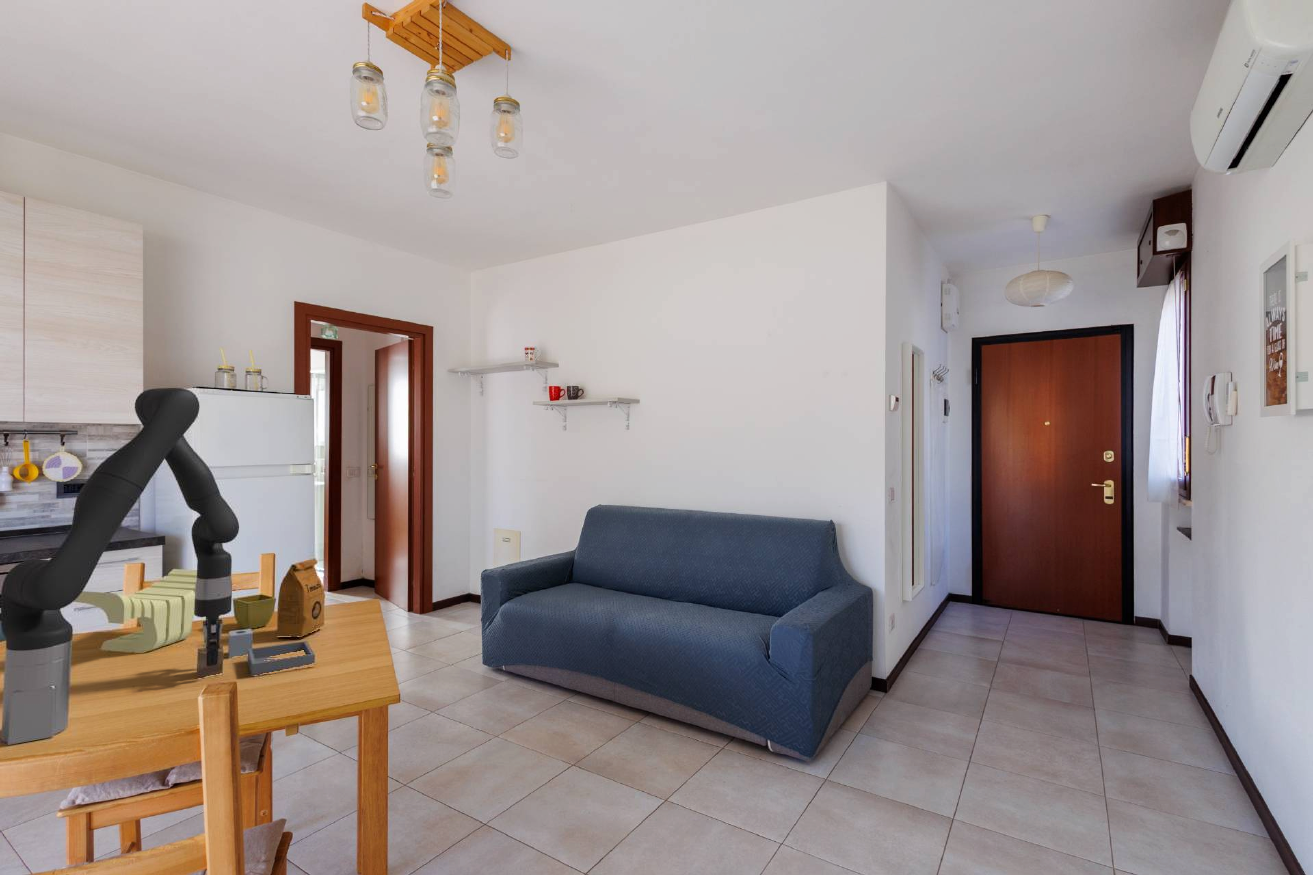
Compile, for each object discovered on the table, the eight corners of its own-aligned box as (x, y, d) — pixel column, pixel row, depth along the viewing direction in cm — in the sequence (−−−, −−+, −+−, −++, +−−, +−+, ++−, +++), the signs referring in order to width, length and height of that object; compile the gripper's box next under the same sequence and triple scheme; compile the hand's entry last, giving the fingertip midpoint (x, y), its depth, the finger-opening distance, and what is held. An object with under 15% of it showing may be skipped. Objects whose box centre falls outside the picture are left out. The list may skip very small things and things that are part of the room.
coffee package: (329, 629, 193) (332, 558, 194) (301, 641, 181) (304, 565, 181) (300, 627, 195) (303, 556, 195) (270, 638, 182) (273, 563, 183)
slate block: (251, 655, 168) (252, 633, 168) (229, 658, 165) (230, 635, 165) (250, 650, 172) (251, 628, 172) (228, 653, 169) (229, 631, 169)
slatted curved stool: (121, 664, 158) (125, 594, 159) (66, 659, 160) (70, 590, 161) (218, 631, 188) (221, 571, 188) (171, 627, 190) (173, 568, 190)
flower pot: (260, 621, 199) (262, 593, 199) (275, 626, 195) (277, 597, 195) (230, 627, 192) (231, 598, 192) (245, 632, 187) (246, 602, 187)
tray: (314, 667, 161) (314, 654, 161) (251, 677, 153) (252, 664, 153) (306, 652, 172) (306, 640, 172) (247, 661, 163) (247, 648, 164)
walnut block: (222, 675, 153) (223, 649, 154) (197, 679, 150) (198, 652, 151) (221, 669, 157) (222, 643, 158) (196, 673, 154) (198, 647, 155)
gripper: (233, 598, 151) (231, 665, 151) (230, 586, 162) (228, 649, 162) (195, 602, 147) (192, 672, 146) (194, 590, 158) (192, 654, 158)
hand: (211, 660), depth 154 cm, fingers open, 8 cm apart
